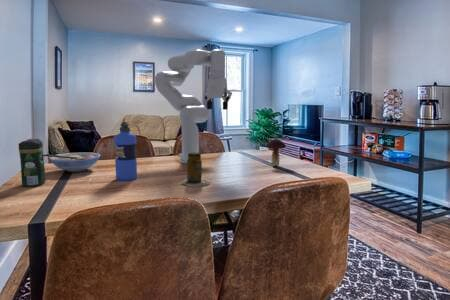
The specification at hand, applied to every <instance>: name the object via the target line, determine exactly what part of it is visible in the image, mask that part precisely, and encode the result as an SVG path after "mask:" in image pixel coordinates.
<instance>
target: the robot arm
mask: <svg viewBox="0 0 450 300" xmlns="http://www.w3.org/2000/svg"><path fill="white" fill-rule="evenodd" d="M195 66H203V67H208V68H210V69H209V70H210V71H209V73H208V77H209V78H208V79H207V87H206V91H204V92H203V96H204V99H205V100H206V103H207V106H205V105H204V103H203V102H202V101H201V100H200V99H198V97H196V96H194V95H188V94H183V93H181V92H180V91H179V90H178V89H177V88H176V87H180V86H182V85H183V84H184V83H185V81H186V79H187V77H188V76H189V75H190V73H191V71H192V70H193V69H194V67H195ZM167 67H168V69H170V70H171V71H167V70H166V71H164V70H163V71H159V72H157V73H156V75H155V77H154V84H155V86H156V89H157V91H158V93H159V94H160V95H161V96H163V98H165V99H166V101H167V102H168V103H169V104H170V105H171V107H173V109H175V111H177V112H179V118H180V124H181V152H180V153H179V154H177V158H180V159H179V163H180V164H187V160H188V154H189V153H200V147H199V146H200V144H199V143H200V140H199V139H200V135H199V133H200V132H199V128H198V125H197V124H198V123H199V124H200V123H201V124H202V123H205V122H207V121H208V119H209V117H210V113H209V110H213V101H212V100H213V99H221V100H223V101H222V110H226V111H227V110H228V103H229V100H231V97H232V95H233V92H232V91H230V90H228V83H227V78H226V51H224V50H223V49H212V50H211V51H209V50H203V49H195V50H189V51H187V52H185V54H180V55H179V54H178V55H174V56H171V57H170V58H169V59H168V60H167ZM201 161H202V159H201Z"/></svg>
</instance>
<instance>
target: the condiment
mask: <svg viewBox="0 0 450 300" xmlns="http://www.w3.org/2000/svg"><path fill="white" fill-rule="evenodd" d="M201 155H202V154H201V153H200V152H199V153H189V154H188V160H187V163H186V164H187V165H186V171H187V173H186V174H187V175H186V179H187V180H186V179H183V180H184V181H186V182H188V183H190V184H201V183H207V182H205V181H203V180H201V179H203V177H202V176H203V175H202V172H203V171H202V170H203V168H202V167H203V166H202V161H201V160H202V156H201Z"/></svg>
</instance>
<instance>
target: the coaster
mask: <svg viewBox="0 0 450 300" xmlns="http://www.w3.org/2000/svg"><path fill="white" fill-rule="evenodd" d="M184 180H187V178H186V179H183V180H182V181H181V185H183V186H185V187H190V188H192V187H193V188H194V187H195V188H196V187H197V188H199V187H200V186H201V187H206V186H209V185H210V184H211V181H210V180H209V179H207V178H206V179H205V178H201V180H203V181H205V182H207V183H201V184H190V183H188V182H186V181H184ZM205 185H206V186H205Z"/></svg>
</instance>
